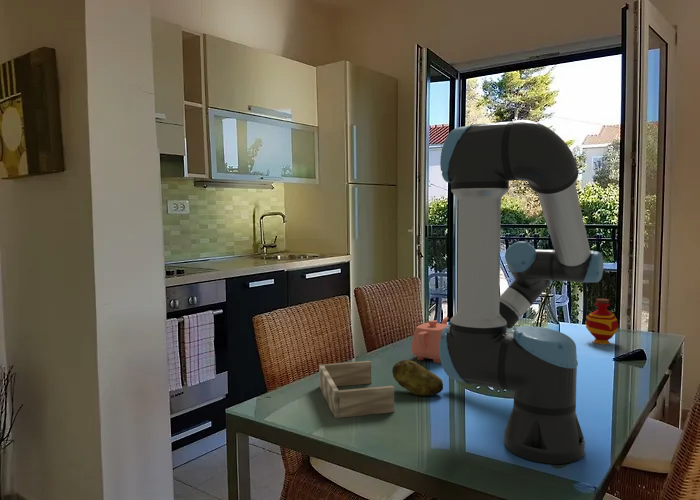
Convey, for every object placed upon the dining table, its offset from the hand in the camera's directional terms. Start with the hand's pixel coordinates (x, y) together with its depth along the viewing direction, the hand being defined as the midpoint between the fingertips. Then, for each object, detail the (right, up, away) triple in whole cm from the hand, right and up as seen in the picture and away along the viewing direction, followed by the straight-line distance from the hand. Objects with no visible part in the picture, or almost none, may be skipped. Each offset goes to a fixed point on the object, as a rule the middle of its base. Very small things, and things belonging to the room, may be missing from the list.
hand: (449, 375), depth 142 cm
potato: (-9, -4, -2) cm, 10 cm away
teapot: (0, -1, +30) cm, 30 cm away
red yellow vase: (+61, +1, +45) cm, 76 cm away
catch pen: (-25, -5, -5) cm, 26 cm away
